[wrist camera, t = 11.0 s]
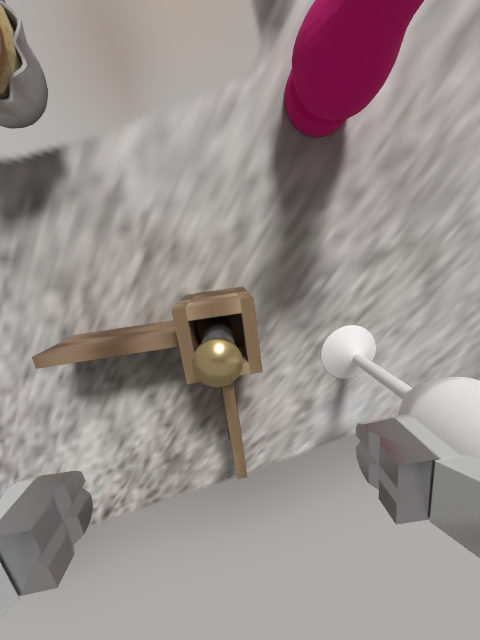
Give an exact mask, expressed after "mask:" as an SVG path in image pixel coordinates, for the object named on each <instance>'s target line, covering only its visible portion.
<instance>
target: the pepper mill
mask: <svg viewBox="0 0 480 640" xmlns="http://www.w3.org/2000/svg"><path fill="white" fill-rule="evenodd" d="M423 1H424V0H315V2H314V3H313V5H312V6H311V8H310V9H309V11H308V13H307V15H306V17H305V19H304V21H303V23H302V25H301V28H300V30H299V32H298V35H297V37H296V41H295V45H294V49H293V56H292V70H291V72H290V75H289V78H288V80H287V84H286V88H285V106H286V111H287V114H288V116H289V118H290V120H291V122H292V124H293V125H294V126H295V127H296V128H297V129H298V130H299V131H300V132H302V133H304V134H306V135H308V136H313V137H322V136H325V135H329V134H331V133H332V132H334V131H335V130H336V129H338V128H339V127H340V126H341V124H342V123H343V122H344V121H345V120H346V119H347V118H350V117H351V116H353V115H355V114H357V113H359V112H360V111H361V110H362V109H364V108H365V107H366V106H367V105H368V104H369V103H370V102H371V101H372V99H373V98H374V97H375V96H376V94H377V93H378V92H379V90H380V89H381V88H382V86H383V85H384V83H385V81H386V79H387V78H388V76H389V74H390V72H391V70H392V68H393V66H394V64H395V61H396V59H397V56H398V53H399V50H400V47H401V44H402V41H403V38H404V35H405V31H406V29H407V27H408V25H409V23H410V21H411V19H412V17H413V16H414V14H415V13H416V11H417V10H418V8H419V7H420V6H421V4H422V3H423Z"/></svg>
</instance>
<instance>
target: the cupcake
mask: <svg viewBox="0 0 480 640" xmlns="http://www.w3.org/2000/svg"><path fill="white" fill-rule="evenodd" d="M47 98H48V89H47V84H46V80H45V76H44V73H43V71H42V68H41V66H40V64H39V62H38V60H37V58H36V57H35V55H34V53H33V52H32V50H31V48H30V47H29V45H28V44H27V42H26V37H25V33H24V30H23V25H22V21H21V19H20V17H19V16H18V14H17V13H16V12H15V11H14V10H12V9H11V8H10V7H9V6H8V5H6V3H5V0H0V126H3V127H7V128H23V127H27V126H30V125H32V124H34V123H35V122H36V121H37V120H38V119H39V118H40V117H41V116H42V114H43V113H44V111H45V108H46V105H47Z"/></svg>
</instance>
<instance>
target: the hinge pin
mask: <svg viewBox="0 0 480 640" xmlns="http://www.w3.org/2000/svg"><path fill="white" fill-rule="evenodd" d="M242 367H243V360H242V356H241V352H240V350H239V349H238V347H237V346H236V345H235V344H234V338H233V332H232V326H231V322H230V321H229V319H228V318H227V317H225V316H218V317H211V318H209V319H208V321H207V323H206V327H205V331H204V335H203V340H202V344H200V345H199V347H198V348H197V349H196V351H195V353H194V356H193V360H192V368H193V372H194V374H195V376H196V377H197V379H198V380H199V381H200V382H202V383H203V384H205V385H207V386H211V387H224V386H227V385H229V384H231V383H233V382H234V381H235V380H236V379H237V378H238V377H239V375H240V373H241V371H242Z"/></svg>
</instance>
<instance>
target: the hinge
mask: <svg viewBox="0 0 480 640" xmlns="http://www.w3.org/2000/svg"><path fill="white" fill-rule="evenodd" d="M172 315H173V319H174V321H167V322H160V323H153V324H147V325H140V326H133V327H126V328H120V329H113V330H106V331H99V332H93V333H86V334H79V335H74V336H72V337H70V338H68V339H66V340H65V341H63V342H61V343H59V344H57V345H55V346H53V347H51V348H49V349H47V350H45V351H43V352H41V353H39V354H37V355H35V356H33V357H32V359H33V362H34V364H35V367H36V369H37V368H43V367H50V366H56V365H63V364H69V363H76V362H82V361H89V360H95V359H102V358H108V357H115V356H121V355H128V354H134V353H141V352H147V351H154V350H160V349H167V348H173V347H179V348H180V353H181V358H182V363H183V368H184V373H185V378H186V382H187V384H192V383H198V382H200V381H199V380H198V379H197V377H196V376H195V374H194V372H193V368H192V360H193V356H194V353H195V351H196V349H197V348H198V347H199V345H200V344H202V340H203V335H204V331H205V327H206V323H207V321H208V319H209V318H211V317H218V316H225V317H227V318H228V319H229V321H230V322H231V326H232V332H233V338H234V344H235V345H236V346H237V347H238V349H239V350H240V352H241V356H242V360H243V367H242V371H241V373H240V375H239V376H241V375H248V374H254V373H260V372H262V364H261V356H260V347H259V339H258V330H257V322H256V314H255V305H254V298H253V297H252V296H251V295H250V294H249V293H248V292H247V291H246V290H245V288H244V287H238V288H231V289H224V290H217V291H210V292H203V293H196V294H189V295H185V296H184V297H183V298H182V299H181V300H180V302H179V303H178V304H177V305H176V306H175V307H174V308H173V309H172ZM221 390H222V397H223V399H224V403H225V409H226V415H227V421H228V431H229V438H230V440H231V445H232V451H233V457H234V463H235V469H236V475H237V479H241V478H246V477H247V472H246V465H245V457H244V450H243V442H242V435H241V428H240V422H239V415H238V409H237V402H236V396H235V389H234V383H231V384H229V385H227V386H224V387H221Z"/></svg>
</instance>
